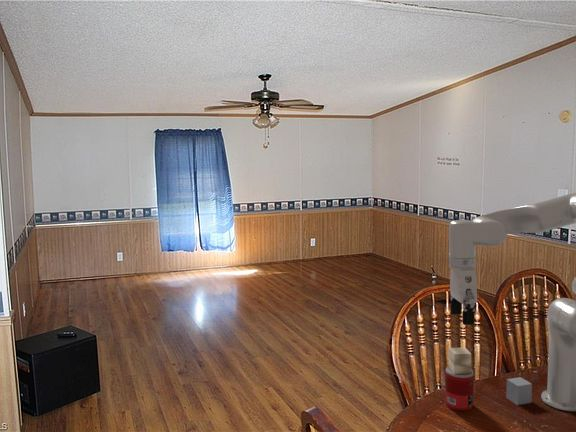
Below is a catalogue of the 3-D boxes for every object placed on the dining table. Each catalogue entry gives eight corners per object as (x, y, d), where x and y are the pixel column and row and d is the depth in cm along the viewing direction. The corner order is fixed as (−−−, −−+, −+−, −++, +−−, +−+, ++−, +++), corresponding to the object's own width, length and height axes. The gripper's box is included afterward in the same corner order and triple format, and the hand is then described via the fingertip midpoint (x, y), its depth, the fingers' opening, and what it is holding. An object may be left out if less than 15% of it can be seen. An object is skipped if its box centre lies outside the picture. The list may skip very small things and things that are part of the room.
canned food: (474, 412, 153) (475, 376, 152) (446, 410, 154) (446, 374, 153) (471, 400, 160) (471, 365, 159) (444, 398, 162) (444, 364, 161)
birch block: (464, 366, 159) (465, 347, 158) (470, 373, 154) (471, 353, 153) (448, 366, 159) (448, 347, 158) (453, 373, 154) (454, 354, 153)
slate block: (519, 395, 163) (520, 377, 162) (531, 402, 158) (532, 383, 157) (506, 397, 161) (506, 379, 161) (517, 405, 157) (517, 386, 156)
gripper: (487, 268, 145) (486, 328, 147) (464, 256, 162) (463, 309, 164) (460, 269, 144) (459, 329, 146) (440, 257, 162) (440, 310, 164)
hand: (462, 319), depth 155 cm, fingers open, 9 cm apart
